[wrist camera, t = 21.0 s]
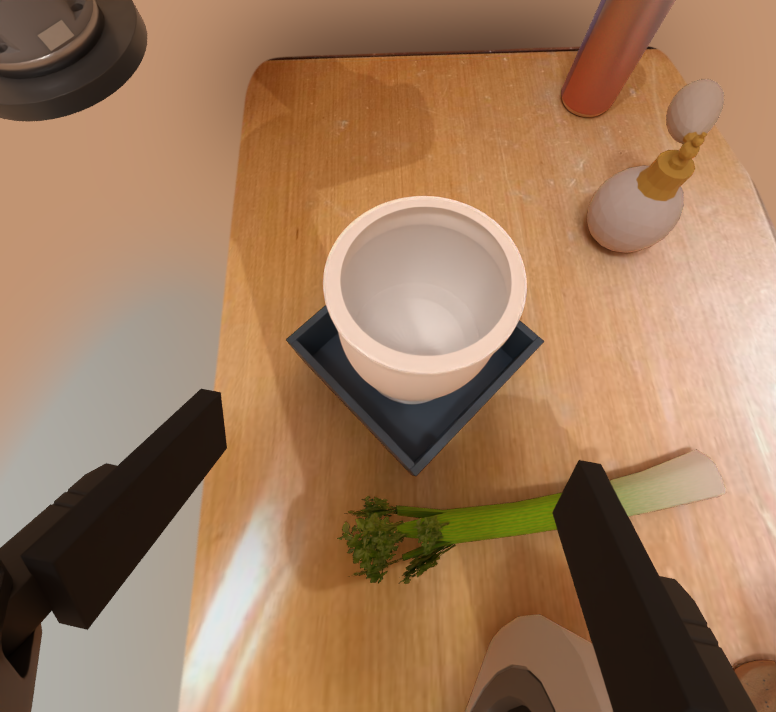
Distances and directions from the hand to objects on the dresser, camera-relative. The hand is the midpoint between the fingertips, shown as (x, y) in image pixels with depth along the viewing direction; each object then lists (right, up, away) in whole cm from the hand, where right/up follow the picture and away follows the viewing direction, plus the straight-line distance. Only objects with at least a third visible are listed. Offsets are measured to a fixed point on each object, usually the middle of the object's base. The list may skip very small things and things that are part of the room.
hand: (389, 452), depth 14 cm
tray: (+2, +3, +20) cm, 20 cm away
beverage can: (+23, +33, +29) cm, 50 cm away
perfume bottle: (+23, +17, +24) cm, 37 cm away
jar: (+2, +3, +20) cm, 20 cm away
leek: (+11, -8, +17) cm, 22 cm away
